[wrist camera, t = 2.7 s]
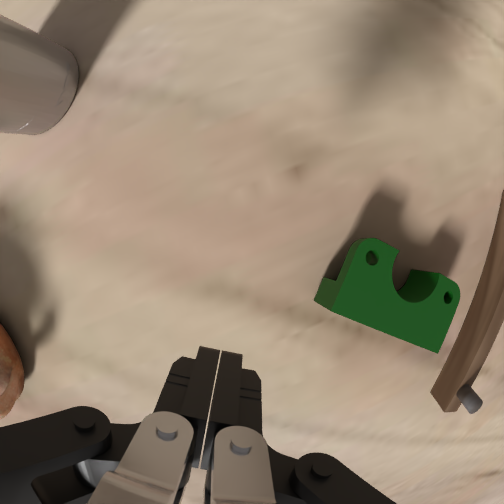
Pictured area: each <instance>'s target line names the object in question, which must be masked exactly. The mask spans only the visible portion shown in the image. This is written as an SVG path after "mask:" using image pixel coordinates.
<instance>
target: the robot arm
mask: <svg viewBox="0 0 504 504" xmlns="http://www.w3.org/2000/svg"><path fill="white" fill-rule="evenodd" d="M78 71H79V70H78V65H77V61H76V59H75V57H74V55H73V54H72V53H71V52H70V51H69V50H67V49H66V48H64V47H62V46H60V45H58V44H57V43H55V42H53V41H51V40H49V39H48V38H46V37H44V36H42V35H40V34H38V33H36V32H35V31H33V30H31V29H29V28H27V27H25V26H23V25H21V24H19V23H17V22H15V21H13V20H11V19H9V18H6V17H4V16H2V15H0V133H12V134H28V135H36V134H41V133H43V132H45V131H47V130H49V129H50V128H52V127H53V126H54V125H55V124H57V122H58V121H59V120H60V119H61V118H62V117H63V116H64V114H65V113H66V111H67V110H68V108H69V106H70V104H71V102H72V100H73V98H74V95H75V92H76V89H77V84H78V79H79V77H78ZM219 354H220V350H217V349H212V348H207V347H202V346H200V347H199V350H198V353H197V357H196V359H192V358H187V357H183V356H182V357H181V358H179V359H178V360H177V361H175V362H174V363H173V364H172V367H171V369H170V372H169V375H168V377H167V379H166V383H165V384H164V387H163V389H162V392H161V394H160V397H159V399H158V402H157V404H156V407H155V410H154V412H153V413H152V414H149V415H148V416H146V417H145V418H144V419H143V421H142V422H140V423H136V424H114V423H110V421H109V419H108V418H107V416H106V415H105V414H104V413H103V412H101V411H99V410H98V409H95V408H92V407H88V406H77V407H73V408H70V409H66V410H63V411H60V412H56V413H53V414H49V415H46V416H42V417H39V418H35V419H31V420H28V421H24V422H20V423H16V424H12V425H8V426H4V427H0V504H181V501H182V498H183V494H184V491H185V488H186V484H187V483H188V481H189V478H190V472H191V467H194V468H198V466H199V461H200V455H201V450H202V445H203V439H204V434H205V429H206V423H207V418H208V412H209V407H210V402H211V396H212V391H213V386H214V380H215V375H216V370H217V364H218V359H219ZM261 399H262V398H261V380H260V378H259V376H258V375H257V373H256V372H255V371H254V370H248V369H242V354H237V353H232V352H227V351H222V353H221V358H220V363H219V368H218V373H217V379H216V384H215V389H214V394H213V400H212V405H211V411H210V416H209V422H208V428H207V433H206V439H205V445H204V451H203V456H202V462H201V468H200V469H205V470H207V474H206V481H205V485H204V490H203V504H396V503H395V502H394V501H392V500H391V499H389V498H388V497H386V496H385V495H384V494H382V493H381V492H379V491H378V490H377V489H375V488H374V487H372V486H371V485H370V484H368V483H367V482H366V481H364V480H363V479H362V478H360V477H359V476H358V475H356V474H355V473H354V472H352V471H351V470H350V469H349V468H347V467H346V466H345V465H343V464H342V463H341V462H340V461H338V460H337V459H336V458H334V457H332V456H330V455H327V454H324V453H309V454H306V455H304V456H302V457H301V458H299V460H298V459H295V458H292V457H289V456H286V455H283V454H280V453H278V452H276V451H275V450H273V449H272V448H271V447H270V446H269V445H268V444H267V442H266V440H265V439H264V437H263V435H262V401H261Z"/></svg>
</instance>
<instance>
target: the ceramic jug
mask: <svg viewBox="0 0 504 504" xmlns="http://www.w3.org/2000/svg"><path fill="white" fill-rule="evenodd" d="M23 388H24V369H23V365H22V362H21V358H20V356H19V354H18V351H17V349H16V347H15V345H14V343H13V341H12V340H11V338H10V336H9V335H8V333H7V332H6V330H5V329H4V327H3V326H2V325H1V324H0V419H2V418H4V417H5V416H6V415H7V414H8V413H9V412H10V411H11V409H12V407H13V405H14V403H15V401H16V400H17V399H18V398H19V396H20V395H21V393H22V391H23Z"/></svg>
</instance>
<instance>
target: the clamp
mask: <svg viewBox="0 0 504 504" xmlns="http://www.w3.org/2000/svg"><path fill="white" fill-rule="evenodd" d="M398 252H399V250H397V249H395V248H394V247H392V246H390V245H388V244H386V243H384V242H382V241H381V240H379V239H376V238H363V239H359V240H357V241H355V242H354V243H353V244H352V245H351V247H350V249H349V251H348V254H347V256H346V258H345V261H344V263H343V266H342V268H341V271H340V273H339V275H338V278H337V280H336V281H334V280H331V279H328V278H325V277H323V280H322V282H321V284H320V287H319V289H318V291H317V294H316V296H315V298H314V301H315V302H317V303H318V304H320V305H322V306H323V307H325V308H327V309H328V310H330V311H332V312H334V313H337V314H339V315H342V316H344V317H347V318H349V319H352V320H354V321H357V322H359V323H361V324H364V325H366V326H369V327H371V328H374V329H376V330H379V331H382V332H384V333H387V334H389V335H392V336H394V337H397V338H399V339H402V340H404V341H407V342H409V343H412V344H415V345H417V346H420V347H422V348H425V349H427V350H430V351H433V352H435V353H438V352H439V350H440V348H441V346H442V343H443V341H444V339H445V336H446V334H447V332H448V329H449V327H450V324H451V322H452V319H453V317H454V314H455V312H456V309H457V306H458V304H459V300H460V289H459V287H458V285H457V284H456V283H455V282H454V281H452V280H450V279H449V278H447V277H445V276H444V275H442V274H440V273H434V272H427V271H419V270H412V269H411V271H410V274H409V277H408V280H407V282H406V283H405V285H404V286H403V287H402V288H401V289H400V290H399V291H397V292H396V290H395V288H394V285H393V280H392V268H393V263H394V260H395V258H396V256H397V254H398Z"/></svg>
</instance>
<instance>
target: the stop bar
mask: <svg viewBox="0 0 504 504" xmlns="http://www.w3.org/2000/svg"><path fill="white" fill-rule="evenodd" d="M503 320H504V191H503V194H502V199H501V204H500V209H499V214H498V218H497V222H496V226H495V230H494V234H493V238H492V242H491V246H490V249H489V253H488V256H487V259H486V263H485V266H484V269H483V272H482V275H481V278H480V281H479V284H478V287H477V290H476V293H475V295H474V298H473V301H472V303H471V306H470V309H469V311H468V314H467V316H466V319H465V321H464V324H463V326H462V328H461V331H460V333H459V335H458V337H457V340H456V342H455V344H454V346H453V348H452V351H451V353H450V355H449V357H448V359H447V361H446V363H445V365H444V367H443V369H442V371H441V373H440V375H439V377H438V379H437V381H436V382H435V384H434V386H433V388H432V390H431V394H432V395H433V397H434V398H435V400H436V401H437V402H438V404H439V405H440V407H441V408H442V410H443V411H444V412H456V411H457V410H458V408H459V406H460V405H461V403H462V404H463V405H464V406H465V408H466V409H467V410H468V412H469V413H470V414H472V413H475V412H476V411H478V410H479V408H480V407H481V406H482V403H483V401H482V400H481V399H480V397H479V396H478V395H477V394H476V393H475V391H474V390H473V389H472V388H471V386H472V384H473V382H474V381H475V379H476V377H477V375H478V373H479V371H480V369H481V368H482V366H483V364H484V362H485V360H486V358H487V356H488V354H489V352H490V349H491V347H492V345H493V343H494V341H495V339H496V337H497V334H498V332H499V330H500V327H501V325H502V323H503Z"/></svg>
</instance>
